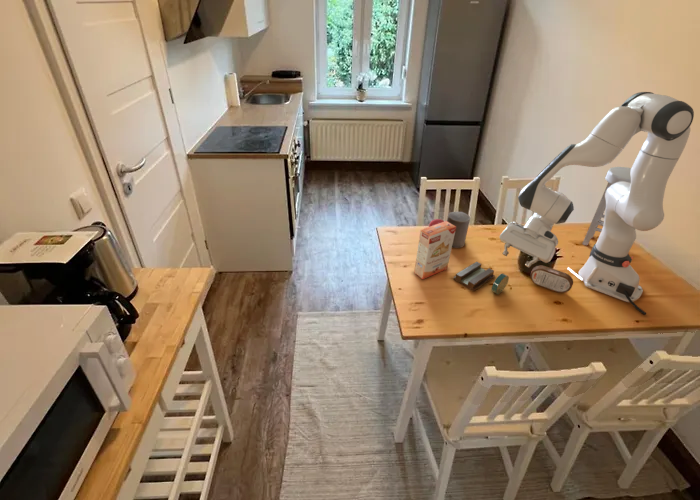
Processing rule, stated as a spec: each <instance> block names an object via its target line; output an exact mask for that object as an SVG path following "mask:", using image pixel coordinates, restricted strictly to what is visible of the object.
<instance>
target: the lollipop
mask: <svg viewBox="0 0 700 500" xmlns="http://www.w3.org/2000/svg"><path fill="white" fill-rule="evenodd" d="M442 222H445V220H443V219H441V218H434V219H433V220H431V221H430V222H429V224H428V227H430V226H433V225H436V224H439V223H442Z"/></svg>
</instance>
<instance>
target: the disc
mask: <svg viewBox="0 0 700 500" xmlns="http://www.w3.org/2000/svg"><path fill="white" fill-rule="evenodd" d="M509 280H510V277H509V275H507V274H505V273H502V272H501V273H500V274H499V275H498V276H497V277H496V279H495V280H494V281H493V283H492V286H491V292H493V293H494V294H495V295H500V294H501V293H502V292H503V291H504V290H505V289H506V287H507V285H508V283H509Z"/></svg>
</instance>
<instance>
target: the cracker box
mask: <svg viewBox="0 0 700 500" xmlns="http://www.w3.org/2000/svg"><path fill="white" fill-rule="evenodd" d="M455 231H456V226H454V225H452V224H451V223H449V222H447V220H444V222H442V223H439V224H436V225H433V226H430V227H429V226H428V227H424V228H421V229H420V232H419V239H418V245H417V251H416V258H415V264H414V271H413V273H414V274H415V275H417V277H419V278H420V279H422V280H425V279H428V278H429V277H432V276H434V275H436V274H439V273H441V272H444V271H446V270H447V269H448V266H449V262H450V257H451V253H452V248H453V247H452V244H453V240H454V235H455Z"/></svg>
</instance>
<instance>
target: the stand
mask: <svg viewBox="0 0 700 500" xmlns="http://www.w3.org/2000/svg"><path fill="white" fill-rule="evenodd" d="M494 273H495V270H494V269H492V268H490V267H489V268H487V269H485V268H482V263H481V262H478V261H475V262H473V263H471V264H470V265H468V266H467V267H465V268H464V269H462V270H460V271H459V272H457V273H455V276H453V277H452V279H453V280H454V281H456V282H458V283H459V284H461V285H463V286H464V287H466V288H468V289H470V290H471V291H472V292H476V291H477V290H478V289H480V288H481V287H482V286H484V285H485V284H487V283H489V282H490V281H492V280H493V279H494V278H495V275H494Z"/></svg>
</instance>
